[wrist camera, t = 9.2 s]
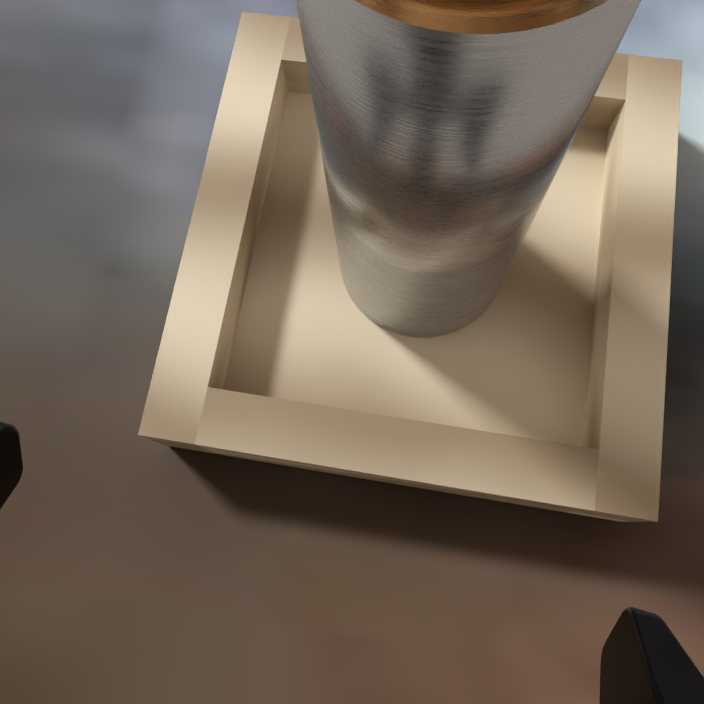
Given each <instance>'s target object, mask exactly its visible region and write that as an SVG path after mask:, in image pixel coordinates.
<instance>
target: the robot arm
mask: <svg viewBox="0 0 704 704" xmlns="http://www.w3.org/2000/svg"><path fill="white" fill-rule="evenodd" d="M22 470H23V463H22V455H21V446H20V438H19V432H18V430H17V429H16V427H15V426H13V425H11V424H7V423H4V422H0V509H1V508H2V506H3V505H4V503H5V502H6V500H7V499H8V497H9V496H10V494H11V493H12V491H13V490H14V488H15V487H16V486H17V484H18V482H19V480H20V478H21V475H22ZM600 704H704V677H703V676H702V674H701V673H700V672H699V670H698V669H697V667H696V666H695V664H694V663H693V662H692V660H691V659H690V657H689V656H688V655H687V653H686V652H685V650H684V649H683V647H682V646H681V645H680V643H679V642H678V640H677V639H676V637H675V636H674V635H673V633H672V632H671V630H670V629H669V628H668V626H667V625H666V623H665V622H664V621H663V619H662V618H661V617H659V616H658V615H656V614H654V613H650V612H647V611H644V610H640V609H637V608H633V607H629V608H626V609H625V610H624V611H623V613H622V614H621V616H620V617H619V619H618V621H617V623H616V624H615V626H614V628H613V630H612V631H611V633H610V635H609V637H608V638H607V640H606V642H605V644H604V647H603V650H602V655H601V669H600Z"/></svg>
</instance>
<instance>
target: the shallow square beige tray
mask: <svg viewBox="0 0 704 704" xmlns="http://www.w3.org/2000/svg"><path fill="white" fill-rule="evenodd" d="M681 76H682V61H681V60H672V59H663V58H654V57H645V56H636V55H627V54H618V53H615V55H614V57H613V59H612V61H611V63H610V65H609V67H608V69H607V71H606V73H605V75H604V77H603V79H602V81H601V83H600V85H599V87H598V89H597V91H596V93H595V95H594V97H593V99H592V101H591V104H590V106H589V108H588V110H587V112H586V114H585V116H584V118H583V120H582V122H581V124H580V126H579V128H578V130H577V132H576V134H575V136H574V138H573V140H572V142H571V144H570V146H569V148H568V150H567V152H566V154H565V156H564V159H563V161H562V163H561V165H560V167H559V169H558V171H557V173H556V175H555V177H554V179H553V181H552V183H551V185H550V187H549V189H548V191H547V193H546V195H545V197H544V199H543V201H542V203H541V205H540V207H539V209H538V211H537V214H536V216H535V218H534V220H533V222H532V224H531V226H530V228H529V230H528V232H527V234H526V236H525V238H524V240H523V242H522V244H521V246H520V248H519V250H518V252H517V254H516V256H515V258H514V260H513V262H512V264H511V267H510V269H509V271H508V273H507V275H506V277H505V279H504V281H503V283H502V285H501V287H500V289H499V291H498V293H497V295H496V297H495V298H494V300H493V302H492V303H491V305H490V306H489V307H488V308H487V309H486V311H485V312H484V313H483V314H482V315H481V316H480V317H478V318H477V319H476V320H475V321H473V322H472V323H470V324H469V325H467V326H466V327H464V328H462V329H460V330H458V331H455V332H452V333H450V334H446V335H442V336H438V337H428V338H420V337H409V336H404V335H400V334H396V333H393V332H391V331H388V330H386V329H384V328H382V327H380V326H379V325H377V324H375V323H374V322H372V321H371V320H370V319H369V318H367V317H366V316H365V315H364V314H363V313H362V312H361V311H360V310H359V309H358V308H357V306H356V305H355V304H354V302H353V301H352V299H351V298H350V296H349V294H348V292H347V290H346V287H345V285H344V282H343V278H342V274H341V269H340V263H339V257H338V251H337V245H336V239H335V233H334V227H333V221H332V215H331V209H330V203H329V197H328V190H327V184H326V178H325V172H324V166H323V160H322V154H321V148H320V142H319V136H318V130H317V124H316V118H315V112H314V106H313V100H312V94H311V88H310V82H309V76H308V70H307V64H306V58H305V52H304V46H303V40H302V34H301V28H300V22H299V18H293V17H284V16H275V15H266V14H257V13H248V12H242V15H241V19H240V23H239V27H238V31H237V35H236V39H235V43H234V48H233V52H232V56H231V60H230V64H229V68H228V72H227V76H226V80H225V84H224V88H223V92H222V96H221V100H220V104H219V108H218V112H217V116H216V121H215V125H214V129H213V133H212V137H211V141H210V145H209V149H208V153H207V157H206V161H205V165H204V169H203V173H202V177H201V181H200V185H199V189H198V194H197V198H196V202H195V206H194V210H193V214H192V218H191V222H190V226H189V230H188V234H187V238H186V242H185V246H184V250H183V254H182V258H181V263H180V267H179V271H178V275H177V279H176V283H175V287H174V291H173V295H172V299H171V303H170V307H169V311H168V315H167V319H166V323H165V327H164V331H163V336H162V340H161V344H160V348H159V352H158V356H157V360H156V364H155V368H154V372H153V376H152V380H151V384H150V388H149V392H148V396H147V400H146V404H145V409H144V413H143V417H142V421H141V425H140V429H139V433H138V435H140V436H142V437H145V438H148V439H151V440H153V441H156V442H159V443H161V444H164V445H167V446H171V447H177V448H183V449H189V450H195V451H201V452H207V453H213V454H219V455H225V456H231V457H237V458H243V459H249V460H255V461H261V462H267V463H273V464H279V465H285V466H291V467H296V468H302V469H308V470H314V471H320V472H326V473H332V474H338V475H344V476H350V477H356V478H362V479H368V480H374V481H380V482H386V483H392V484H398V485H404V486H410V487H416V488H422V489H428V490H434V491H440V492H446V493H452V494H458V495H464V496H470V497H476V498H482V499H488V500H494V501H500V502H506V503H512V504H518V505H524V506H529V507H535V508H541V509H547V510H553V511H559V512H565V513H571V514H577V515H583V516H589V517H595V518H601V519H607V520H613V521H619V522H658V515H659V496H660V477H661V458H662V439H663V419H664V400H665V381H666V362H667V343H668V324H669V305H670V286H671V267H672V248H673V228H674V209H675V190H676V171H677V152H678V133H679V114H680V95H681Z"/></svg>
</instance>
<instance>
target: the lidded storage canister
mask: <svg viewBox="0 0 704 704" xmlns="http://www.w3.org/2000/svg"><path fill="white" fill-rule="evenodd" d="M640 2H641V0H296V4H297V10H298V16H299V22H300V28H301V34H302V40H303V46H304V52H305V58H306V64H307V70H308V76H309V82H310V88H311V94H312V100H313V106H314V112H315V118H316V124H317V130H318V136H319V142H320V148H321V154H322V160H323V166H324V172H325V178H326V184H327V190H328V197H329V203H330V209H331V215H332V221H333V227H334V233H335V239H336V245H337V251H338V257H339V263H340V269H341V274H342V278H343V282H344V285H345V287H346V290H347V292H348V294H349V296H350V298H351V299H352V301H353V302H354V304H355V305H356V306H357V308H358V309H359V310H360V311H361V312H362V313H363V314H364V315H365V316H366V317H367V318H369V319H370V320H371V321H372V322H374V323H375V324H377V325H379V326H380V327H382V328H384V329H386V330H388V331H391V332H393V333H396V334H400V335H404V336H409V337H420V338H428V337H438V336H442V335H446V334H450V333H452V332H455V331H458V330H460V329H462V328H464V327H466V326H467V325H469V324H470V323H472V322H473V321H475V320H476V319H477V318H478V317H480V316H481V315H482V314H483V313H484V312H485V311H486V309H487V308H488V307H489V306H490V305H491V303H492V302H493V300H494V298H495V297H496V295H497V293H498V291H499V289H500V287H501V285H502V283H503V281H504V279H505V277H506V275H507V273H508V271H509V269H510V267H511V264H512V262H513V260H514V258H515V256H516V254H517V252H518V250H519V248H520V246H521V244H522V242H523V240H524V238H525V236H526V234H527V232H528V230H529V228H530V226H531V224H532V222H533V220H534V218H535V216H536V214H537V211H538V209H539V207H540V205H541V203H542V201H543V199H544V197H545V195H546V193H547V191H548V189H549V187H550V185H551V183H552V181H553V179H554V177H555V175H556V173H557V171H558V169H559V167H560V165H561V163H562V161H563V159H564V156H565V154H566V152H567V150H568V148H569V146H570V144H571V142H572V140H573V138H574V136H575V134H576V132H577V130H578V128H579V126H580V124H581V122H582V120H583V118H584V116H585V114H586V112H587V110H588V108H589V106H590V104H591V101H592V99H593V97H594V95H595V93H596V91H597V89H598V87H599V85H600V83H601V81H602V79H603V77H604V75H605V73H606V71H607V69H608V67H609V65H610V63H611V61H612V59H613V57H614V55H615V53H616V51H617V49H618V46H619V44H620V42H621V40H622V38H623V36H624V34H625V32H626V30H627V28H628V26H629V24H630V22H631V20H632V18H633V16H634V14H635V12H636V10H637V8H638V6H639V4H640Z"/></svg>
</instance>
